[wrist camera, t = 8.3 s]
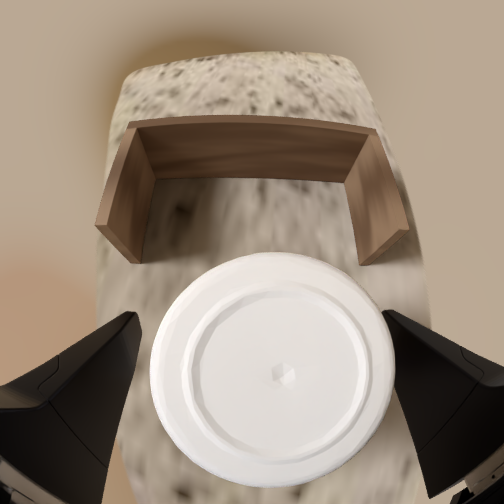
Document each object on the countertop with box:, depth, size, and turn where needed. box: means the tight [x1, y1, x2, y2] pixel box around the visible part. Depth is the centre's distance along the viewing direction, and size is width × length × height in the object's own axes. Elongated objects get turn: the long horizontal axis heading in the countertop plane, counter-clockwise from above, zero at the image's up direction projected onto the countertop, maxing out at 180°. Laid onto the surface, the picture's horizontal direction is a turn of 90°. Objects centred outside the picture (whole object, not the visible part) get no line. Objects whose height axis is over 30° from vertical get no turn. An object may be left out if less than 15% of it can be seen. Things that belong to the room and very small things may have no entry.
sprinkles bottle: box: [150, 252, 395, 488], centre depth 10 cm, size 5×5×14 cm
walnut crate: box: [95, 115, 409, 265], centre depth 18 cm, size 8×18×6 cm, turn 90°
